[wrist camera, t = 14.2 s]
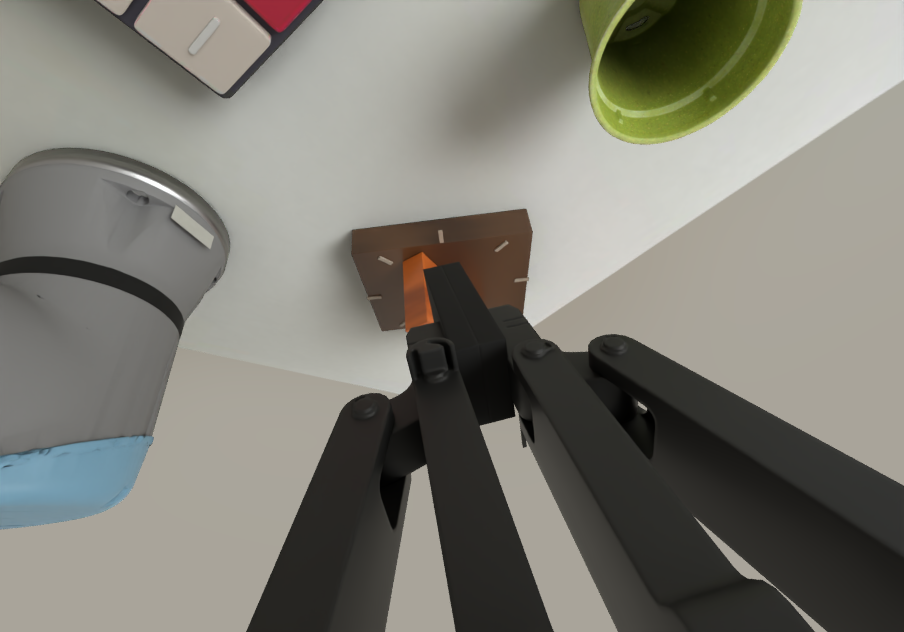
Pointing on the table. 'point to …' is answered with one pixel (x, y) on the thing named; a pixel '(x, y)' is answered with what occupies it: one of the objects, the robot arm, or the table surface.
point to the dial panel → (446, 258)
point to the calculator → (214, 33)
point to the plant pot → (679, 61)
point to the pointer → (416, 291)
